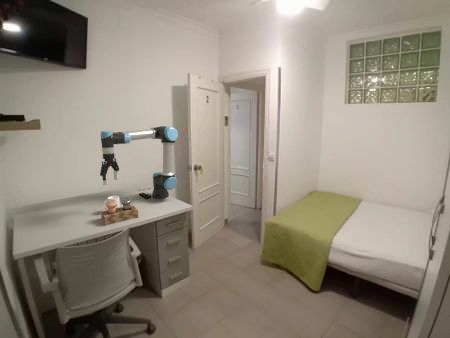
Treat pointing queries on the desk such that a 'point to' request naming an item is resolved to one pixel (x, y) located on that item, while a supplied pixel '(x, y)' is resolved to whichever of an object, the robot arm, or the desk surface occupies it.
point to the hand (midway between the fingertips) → (111, 182)
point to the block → (119, 215)
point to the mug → (113, 199)
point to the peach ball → (111, 207)
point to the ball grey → (126, 204)
